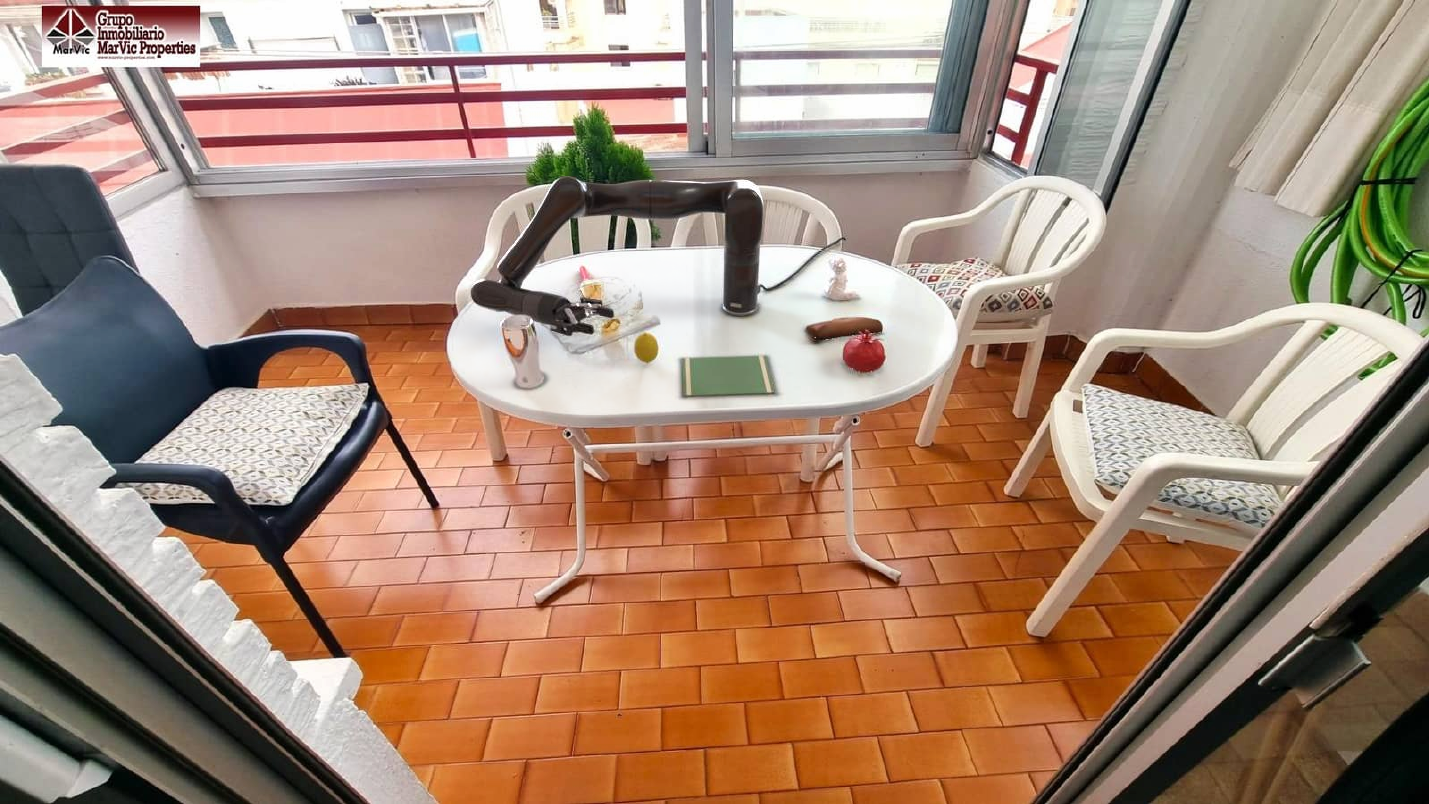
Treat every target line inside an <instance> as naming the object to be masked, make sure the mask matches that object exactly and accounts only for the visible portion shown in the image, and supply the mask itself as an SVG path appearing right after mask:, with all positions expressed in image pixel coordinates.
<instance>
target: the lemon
mask: <svg viewBox="0 0 1429 804" xmlns="http://www.w3.org/2000/svg"><path fill="white" fill-rule="evenodd" d="M633 350H634V354H635V356H636V358H637V359H638V361H641V362H643V363H645V364H648V363H651V362H653V361H655V360H656V358H657V356H658V354H659V343H658V340H657V339H656V337H655V336H654V335H653V334H651V333H648V332H644V333H641V334H639V335H638V336H637V337H636V338H635V340H634V347H633Z"/></svg>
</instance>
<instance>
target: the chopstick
mask: <svg viewBox="0 0 1429 804" xmlns="http://www.w3.org/2000/svg"><path fill="white" fill-rule="evenodd" d="M579 270H580V274H581V277H582V280H583V279H587V278H589V274H588V272H587V269H586V267H585V266H584V265H581V264H580V266H579Z"/></svg>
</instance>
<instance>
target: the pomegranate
mask: <svg viewBox="0 0 1429 804" xmlns="http://www.w3.org/2000/svg"><path fill="white" fill-rule="evenodd" d="M858 332H859V331H858ZM859 333H860V334H861V335H855V336H854V337H852V338H849V339H848V340H847V342H846V343H844V345H843V348H842V360H843V362H844V361H845V362H844V363H845V365H846V366H847V367H848V369H849V368H850V369H851V370H853V371H855V372H858V373H861V374H867V373H868V374H869V373H874V372H876V371H878V370H879V369H880V368H882V367H883V366H884V363H885V361H886V359H887V356H886V352H885V351H886V350H885V347H884V345H883V343H882V342H883V341H885V340H884V339H881V338H878V337H873V336H876V335H877V333H872V334H869V330H865V334H863V333H862V332H859ZM881 341H882V342H881ZM852 368H853V369H852ZM875 370H876V371H875ZM859 371H860V372H859ZM871 371H872V372H871Z"/></svg>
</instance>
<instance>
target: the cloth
mask: <svg viewBox="0 0 1429 804" xmlns="http://www.w3.org/2000/svg"><path fill="white" fill-rule="evenodd" d="M681 363H682V366H681V367H682V393H683V395H682V396H683V398H692V397H722V396H748V395H749V396H750V395H775V394H776V391H775V386H774V383H773V378H772V376H771V375H772V374H771V371H770V367H769V363H768V360H767V356H766V355H753V356H751V355H750V356H718V357H717V356H716V357H715V356H714V357H684V358H681Z"/></svg>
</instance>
